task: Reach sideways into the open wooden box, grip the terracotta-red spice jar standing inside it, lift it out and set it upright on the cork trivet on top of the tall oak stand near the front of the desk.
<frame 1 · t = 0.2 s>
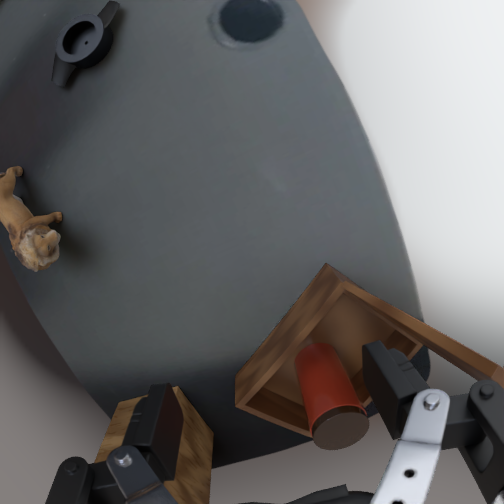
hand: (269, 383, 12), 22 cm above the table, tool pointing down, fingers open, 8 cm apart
spice jar: (316, 361, 37), point 1 cm above the table, touching wooden box
lion figurine: (43, 207, 31), on the table
duct tape: (90, 45, 27), on the table
oak stand: (166, 419, 40), on the table
wooden box: (322, 349, 37), on the table
box lid: (459, 332, 21), point 15 cm above the table, hinge at 100.0°
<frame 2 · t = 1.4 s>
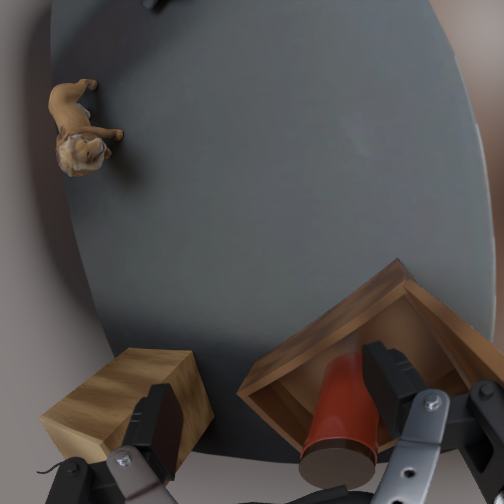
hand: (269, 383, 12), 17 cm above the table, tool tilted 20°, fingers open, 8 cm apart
spice jar: (351, 376, 29), point 1 cm above the table, touching wooden box
lion figurine: (107, 123, 32), on the table
cork trivet: (92, 463, 23), resting on oak stand
oak stand: (170, 382, 38), on the table
wooden box: (363, 364, 29), on the table
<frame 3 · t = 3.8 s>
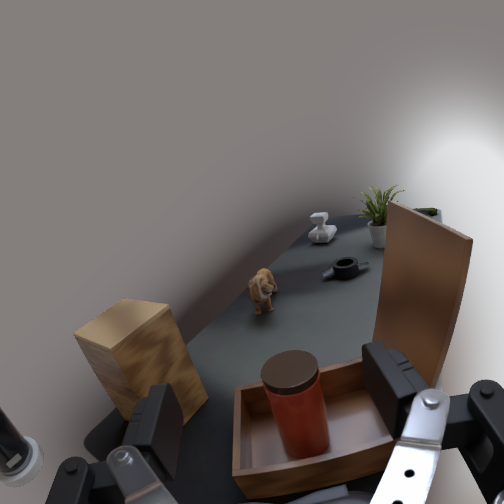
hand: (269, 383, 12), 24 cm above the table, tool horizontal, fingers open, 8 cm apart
spice jar: (306, 440, 33), point 1 cm above the table, touching wooden box
house plant: (388, 244, 81), on the table
lion figurine: (269, 305, 68), on the table
cork trivet: (119, 323, 39), resting on oak stand
duct tape: (346, 274, 72), on the table
oak stand: (165, 410, 44), on the table
wooden box: (319, 440, 33), on the table
gun: (408, 220, 95), on the table
box lid: (425, 310, 27), point 15 cm above the table, hinge at 101.8°
stamp: (324, 241, 96), on the table
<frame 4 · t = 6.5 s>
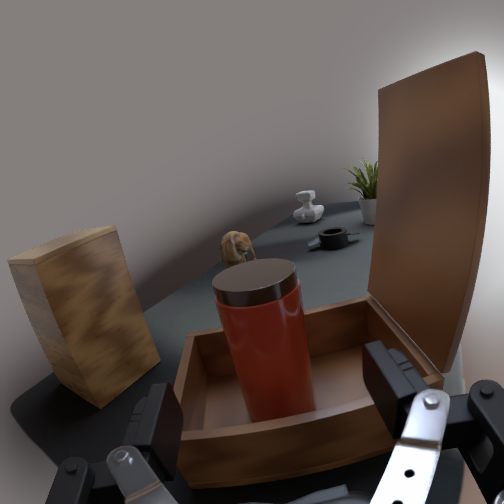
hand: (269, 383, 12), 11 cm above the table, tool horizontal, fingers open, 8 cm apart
spice jar: (282, 408, 24), point 1 cm above the table, touching wooden box
house plant: (380, 222, 75), on the table
lion figurine: (245, 273, 60), on the table
cork trivet: (58, 248, 30), resting on oak stand
duct tape: (334, 246, 65), on the table
oak stand: (107, 373, 34), on the table
wooden box: (300, 410, 24), on the table
box lid: (439, 204, 20), point 15 cm above the table, hinge at 101.8°
stamp: (310, 222, 89), on the table
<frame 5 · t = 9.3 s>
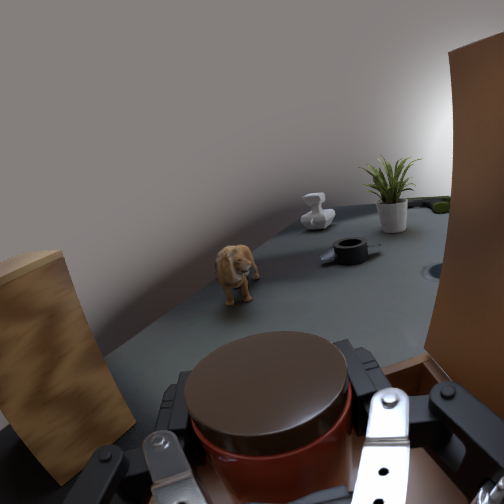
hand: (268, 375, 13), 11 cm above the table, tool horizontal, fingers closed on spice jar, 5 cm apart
house plant: (400, 229, 64), on the table
lion figurine: (246, 294, 49), on the table
duct tape: (351, 259, 54), on the table
oak stand: (72, 432, 24), on the table
gun: (419, 208, 78), on the table
stamp: (319, 228, 78), on the table
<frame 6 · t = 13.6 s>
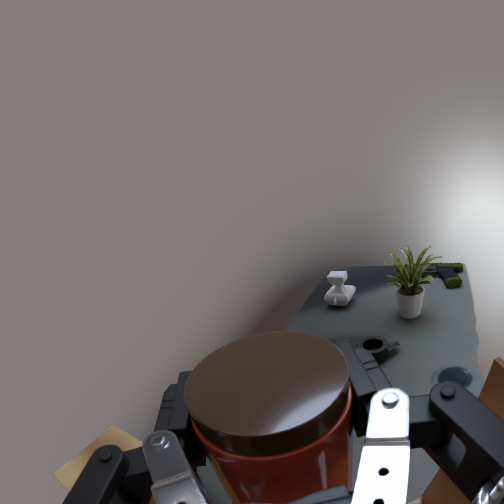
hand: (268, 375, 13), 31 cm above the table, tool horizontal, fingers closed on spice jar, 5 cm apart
house plant: (415, 313, 69), on the table
cork trivet: (111, 472, 24), resting on oak stand
duct tape: (373, 356, 58), on the table
gun: (432, 277, 83), on the table
stamp: (341, 303, 83), on the table
when the fingers open (27 cm above the table, at t = 18.2 s): spice jar stays where it is, resting on cork trivet.
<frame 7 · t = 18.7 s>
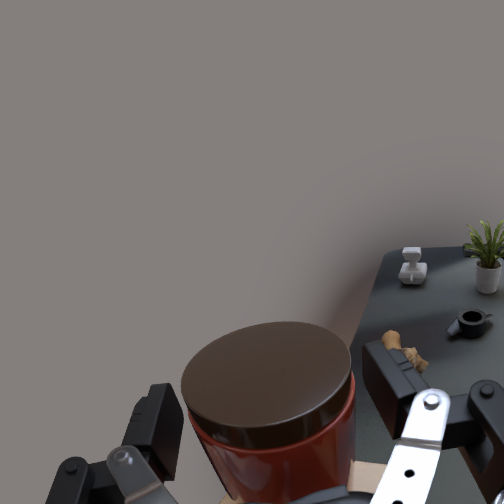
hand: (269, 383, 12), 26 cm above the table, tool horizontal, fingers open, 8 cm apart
house plant: (491, 288, 58), on the table
lion figurine: (396, 380, 43), on the table
duct tape: (470, 330, 48), on the table
gun: (492, 257, 73), on the table
stamp: (413, 282, 72), on the table
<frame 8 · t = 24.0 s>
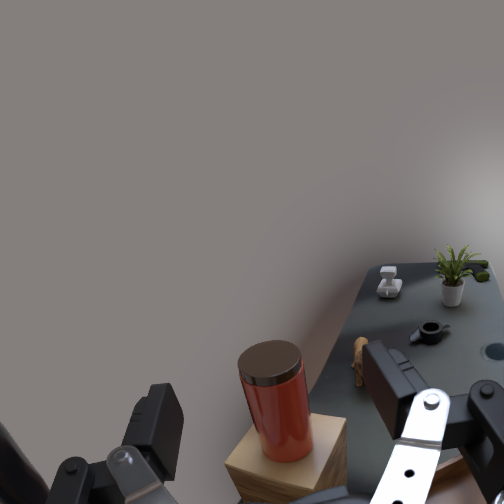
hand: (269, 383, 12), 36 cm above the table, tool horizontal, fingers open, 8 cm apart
spice jar: (287, 443, 30), point 17 cm above the table, touching cork trivet
house plant: (455, 302, 75), on the table
lion figurine: (365, 374, 60), on the table
cork trivet: (287, 445, 30), resting on oak stand
duct tape: (430, 338, 65), on the table
gun: (463, 272, 89), on the table
stamp: (390, 295, 89), on the table
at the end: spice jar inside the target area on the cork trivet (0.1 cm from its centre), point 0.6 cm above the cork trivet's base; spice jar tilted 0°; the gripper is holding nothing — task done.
